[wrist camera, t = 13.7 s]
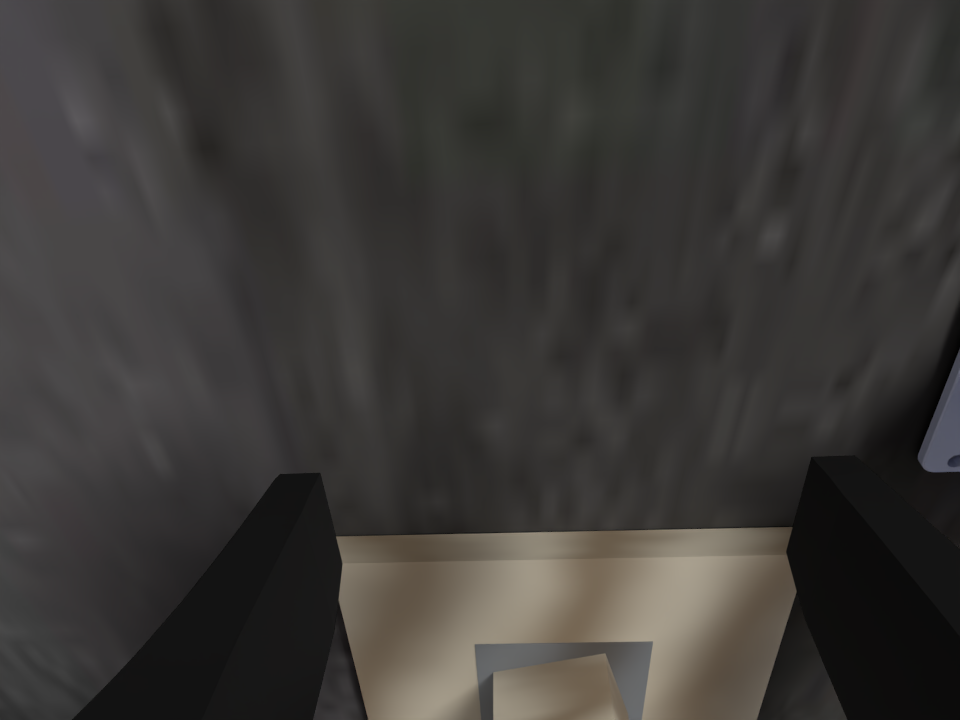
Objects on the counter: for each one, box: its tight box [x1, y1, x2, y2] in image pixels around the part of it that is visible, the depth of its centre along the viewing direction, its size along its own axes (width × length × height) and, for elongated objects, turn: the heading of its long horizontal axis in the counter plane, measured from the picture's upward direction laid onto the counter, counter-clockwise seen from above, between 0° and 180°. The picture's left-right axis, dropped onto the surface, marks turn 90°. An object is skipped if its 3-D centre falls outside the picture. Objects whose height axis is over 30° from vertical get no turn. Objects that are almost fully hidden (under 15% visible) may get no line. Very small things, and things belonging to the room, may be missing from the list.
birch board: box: [336, 527, 797, 720], centre depth 30 cm, size 16×16×1 cm
